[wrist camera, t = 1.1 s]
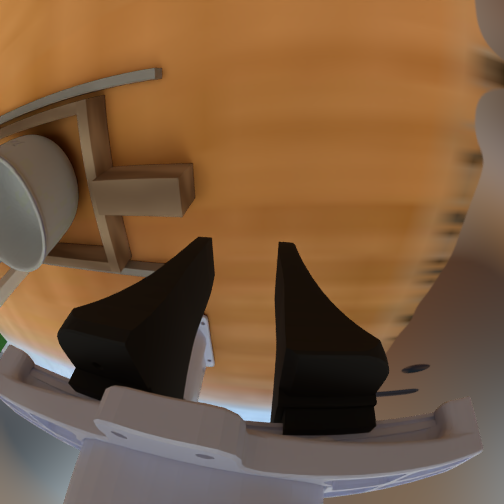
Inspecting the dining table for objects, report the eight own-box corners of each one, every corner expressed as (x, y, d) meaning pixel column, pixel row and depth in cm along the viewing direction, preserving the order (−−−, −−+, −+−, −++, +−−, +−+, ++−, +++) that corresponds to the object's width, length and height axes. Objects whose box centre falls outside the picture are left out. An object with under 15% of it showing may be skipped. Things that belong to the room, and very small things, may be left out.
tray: (201, 262, 25) (191, 286, 22) (20, 246, 27) (6, 260, 24) (188, 82, 16) (172, 83, 14) (-11, 133, 18) (-30, 143, 16)
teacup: (55, 101, 17) (-14, 125, 10) (115, 196, 22) (61, 248, 15) (1, 182, 22) (-46, 216, 15) (48, 252, 27) (8, 297, 20)
